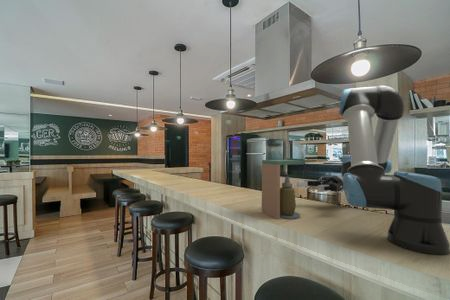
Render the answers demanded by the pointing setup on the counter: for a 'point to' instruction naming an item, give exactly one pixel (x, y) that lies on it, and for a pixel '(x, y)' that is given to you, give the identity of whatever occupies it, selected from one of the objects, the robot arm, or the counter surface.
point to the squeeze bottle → (287, 198)
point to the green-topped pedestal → (273, 185)
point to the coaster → (290, 216)
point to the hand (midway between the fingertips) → (307, 186)
